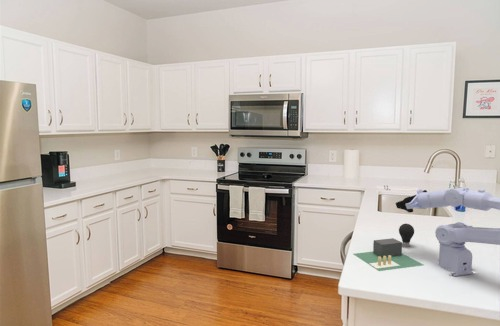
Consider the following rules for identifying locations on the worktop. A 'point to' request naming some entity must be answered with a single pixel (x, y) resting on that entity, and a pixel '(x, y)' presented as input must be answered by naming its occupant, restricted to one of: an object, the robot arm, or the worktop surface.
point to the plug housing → (387, 247)
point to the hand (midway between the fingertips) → (403, 202)
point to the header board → (387, 261)
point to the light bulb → (406, 233)
